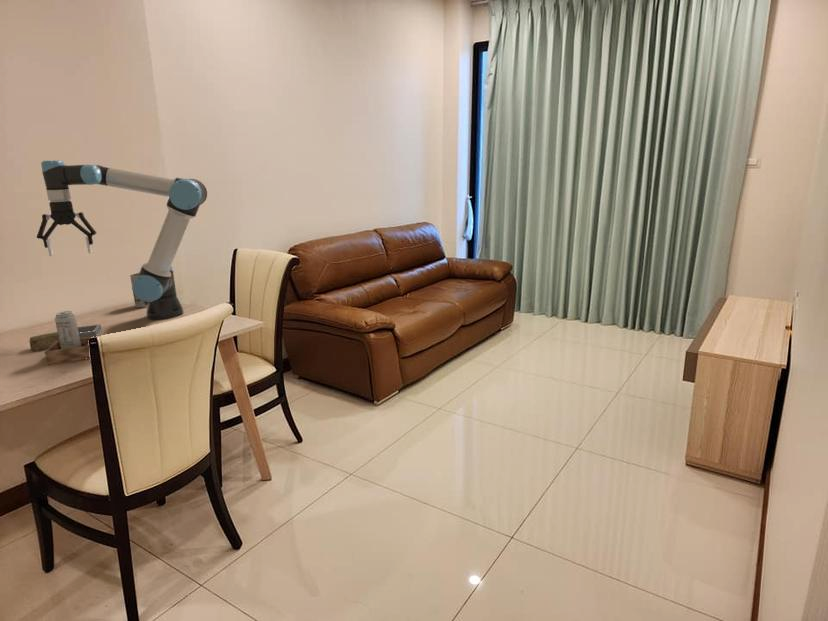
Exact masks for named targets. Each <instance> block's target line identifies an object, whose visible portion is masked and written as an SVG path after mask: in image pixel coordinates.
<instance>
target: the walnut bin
mask: <svg viewBox="0 0 828 621" xmlns="http://www.w3.org/2000/svg"><path fill="white" fill-rule="evenodd" d="M94 337H96V336H94ZM89 338H91V337H85V338H80V342H81V346H82V347H76V348H68V349H61V345H60V341H55V342H54V343H53V344H52V345H51V346H50V347H49V348H47V349H45V351H44V354H45V359H46V363H47V365H55V364H54V363H56V364H63V363H69V361H71V362H76V361H75V360H78V361H82V360H81V359H85V360H90V359H89V358H90V357H89V345H88V339H89ZM96 338H97V337H96ZM86 358H87V359H86ZM62 362H63V363H62Z"/></svg>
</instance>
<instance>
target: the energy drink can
mask: <svg viewBox="0 0 828 621" xmlns="http://www.w3.org/2000/svg"><path fill="white" fill-rule="evenodd" d="M55 315H56V316H55V318H54V321H55V326H56V330H57V331H56V332H58V336H59V340H60V345H61V349H68V348H76V347H82V346H81V342H80V337H79V332H78V327H79V326H78V324H77V323H78V322H77V319H76V315H75V314H74V313H73V311H72V310H65V311H59V312H57V313H55Z"/></svg>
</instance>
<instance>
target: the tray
mask: <svg viewBox="0 0 828 621" xmlns="http://www.w3.org/2000/svg"><path fill="white" fill-rule="evenodd" d="M77 327H78V332H79V337H80V338H85V337H93V336H97V337H98V336H99V335H100V333H101V332H100V330H101V329H102V325H101V323H100V324H90V325H84V326H77ZM93 330H94V331H93ZM88 331H90V332H88ZM101 331H102V330H101ZM80 332H82V333H80ZM99 332H100V333H99ZM97 334H99V335H97Z"/></svg>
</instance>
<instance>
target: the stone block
mask: <svg viewBox="0 0 828 621" xmlns="http://www.w3.org/2000/svg"><path fill="white" fill-rule="evenodd" d="M55 341H60V340H59V336H58V331H56V332H49V333H44V334H39V335H34V336H30V337H29V347H30V349H31V351H40V350H41V349H43V350H47V349H48V348H49V347H50V346H51V345H52V344H53V343H54V342H55ZM46 348H47V349H46ZM41 351H42V350H41Z"/></svg>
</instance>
